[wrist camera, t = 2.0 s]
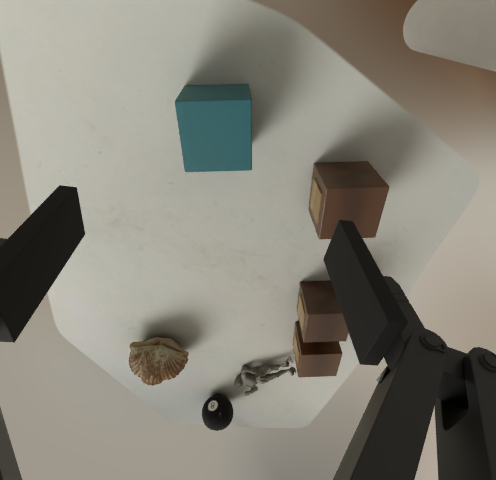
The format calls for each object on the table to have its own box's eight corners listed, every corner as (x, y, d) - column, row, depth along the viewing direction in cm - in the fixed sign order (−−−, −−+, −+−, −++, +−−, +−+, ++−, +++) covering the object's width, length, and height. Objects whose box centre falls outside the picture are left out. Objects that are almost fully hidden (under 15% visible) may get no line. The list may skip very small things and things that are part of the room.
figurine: (301, 383, 55) (242, 407, 57) (299, 367, 59) (243, 390, 61) (285, 357, 53) (225, 383, 56) (284, 343, 57) (227, 367, 59)
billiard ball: (209, 406, 66) (207, 437, 61) (199, 392, 63) (196, 424, 58) (236, 401, 65) (236, 433, 61) (227, 387, 62) (227, 419, 57)
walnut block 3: (368, 161, 34) (389, 186, 30) (357, 208, 38) (375, 237, 33) (312, 162, 34) (324, 188, 30) (307, 209, 38) (317, 239, 33)
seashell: (136, 321, 50) (132, 353, 54) (122, 358, 44) (118, 391, 48) (194, 331, 52) (186, 362, 56) (187, 368, 46) (179, 400, 50)
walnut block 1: (341, 280, 45) (354, 312, 40) (335, 308, 49) (346, 341, 44) (299, 281, 45) (306, 314, 40) (295, 309, 49) (302, 342, 44)
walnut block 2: (332, 320, 51) (342, 353, 46) (327, 343, 54) (336, 376, 49) (294, 322, 51) (300, 355, 46) (291, 344, 54) (297, 377, 49)
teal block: (248, 83, 29) (251, 99, 25) (249, 146, 33) (251, 170, 28) (182, 85, 29) (172, 101, 25) (190, 148, 33) (183, 172, 28)
